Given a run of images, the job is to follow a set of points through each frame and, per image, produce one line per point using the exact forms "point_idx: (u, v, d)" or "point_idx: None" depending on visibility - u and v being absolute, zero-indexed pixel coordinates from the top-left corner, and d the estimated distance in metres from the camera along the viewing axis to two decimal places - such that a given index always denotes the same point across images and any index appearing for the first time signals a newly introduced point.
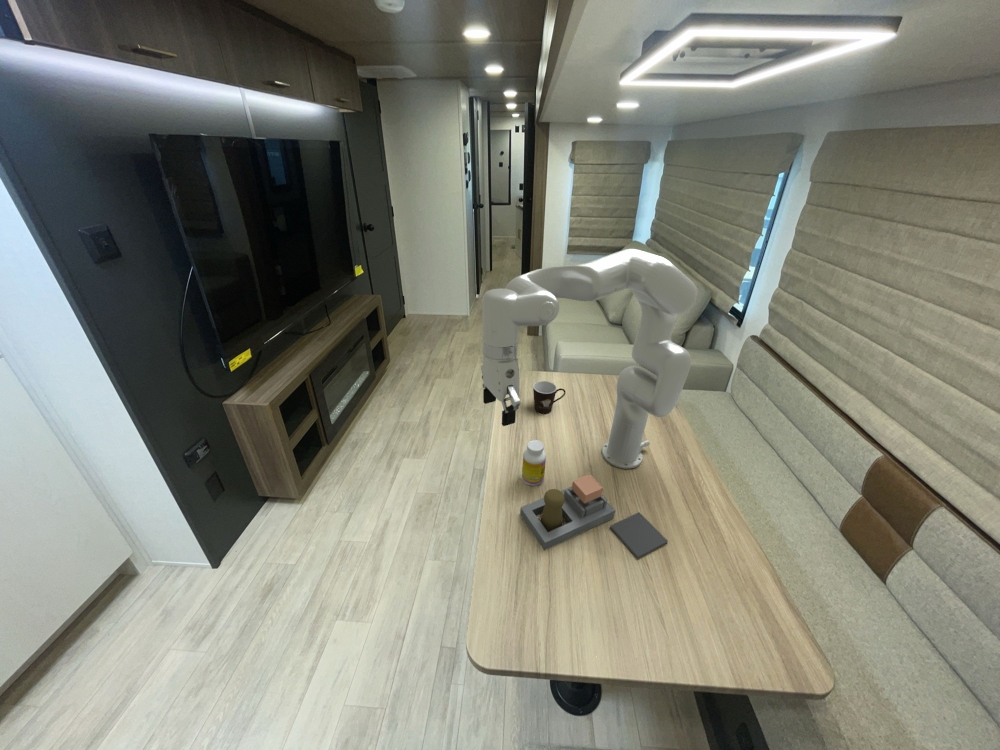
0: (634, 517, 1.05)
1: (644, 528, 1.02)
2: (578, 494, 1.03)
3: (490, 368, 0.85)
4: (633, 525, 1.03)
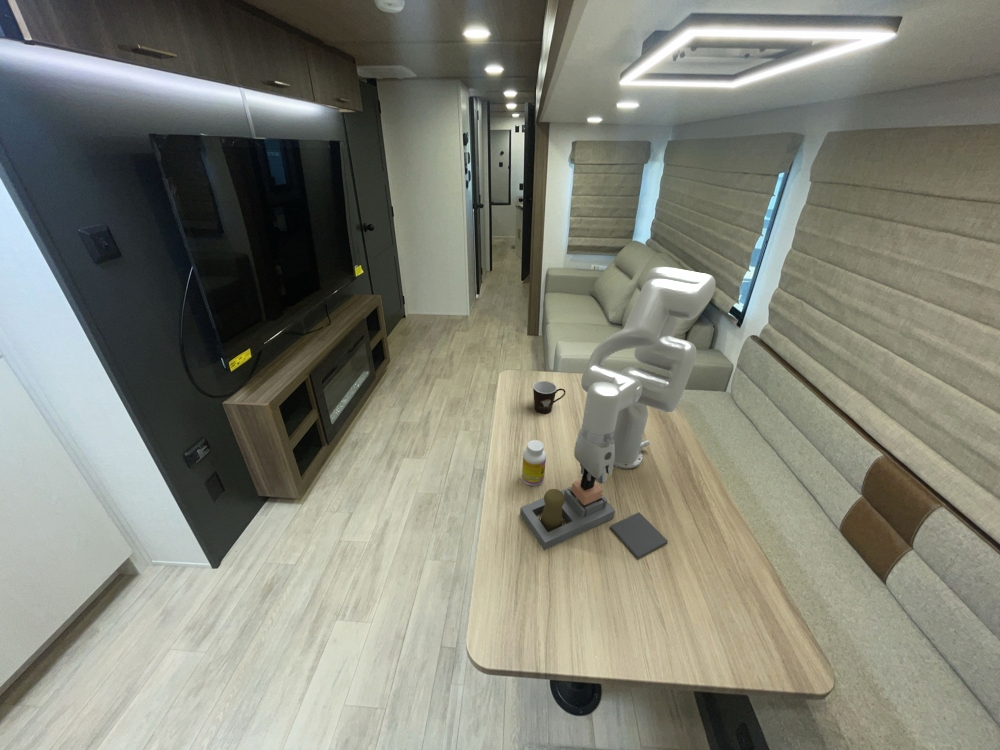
0: (634, 517, 1.05)
1: (644, 528, 1.02)
2: (578, 496, 1.03)
3: (587, 449, 0.95)
4: (633, 525, 1.03)
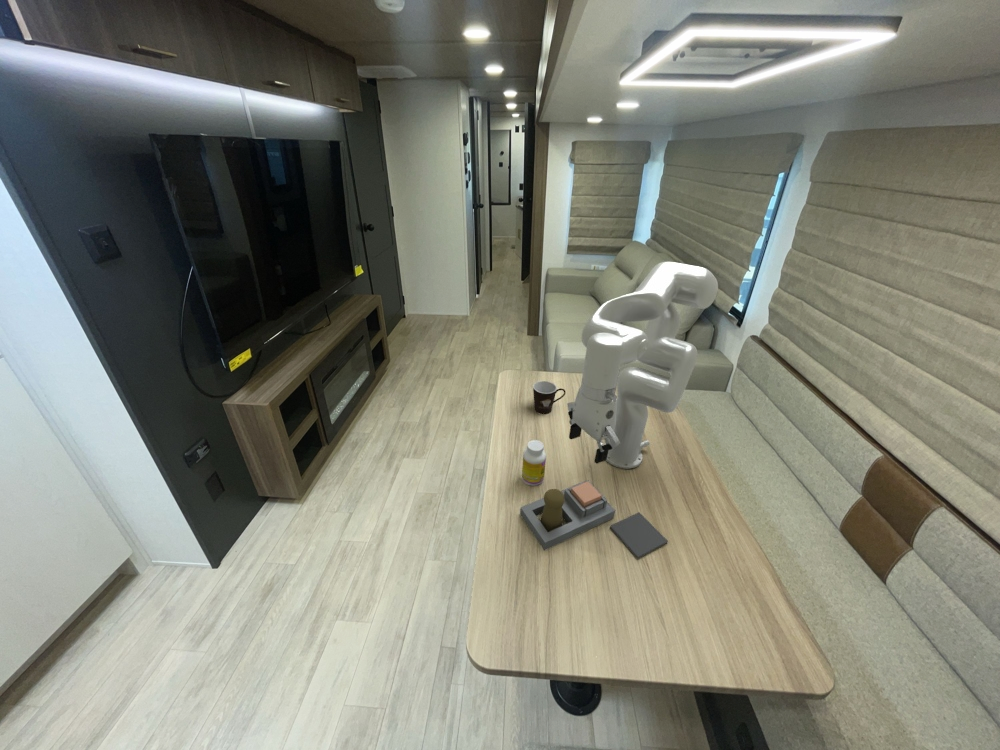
0: (634, 517, 1.05)
1: (644, 528, 1.02)
2: None
3: (587, 408, 0.87)
4: (633, 525, 1.03)
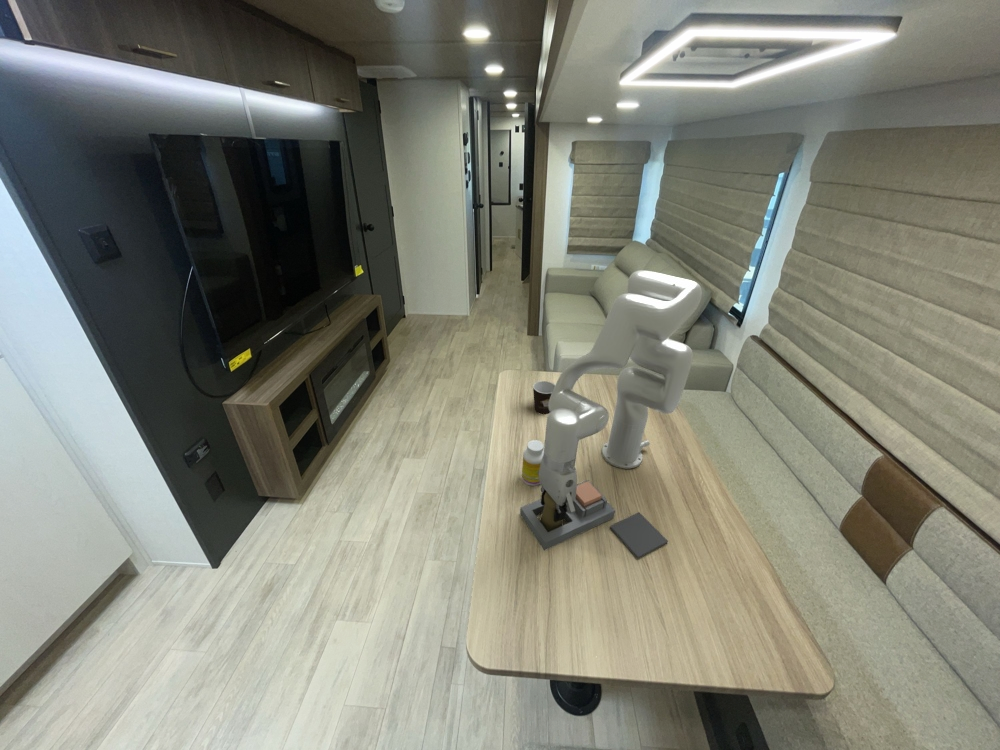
0: (634, 517, 1.05)
1: (644, 528, 1.02)
2: None
3: (550, 475, 0.93)
4: (633, 525, 1.03)
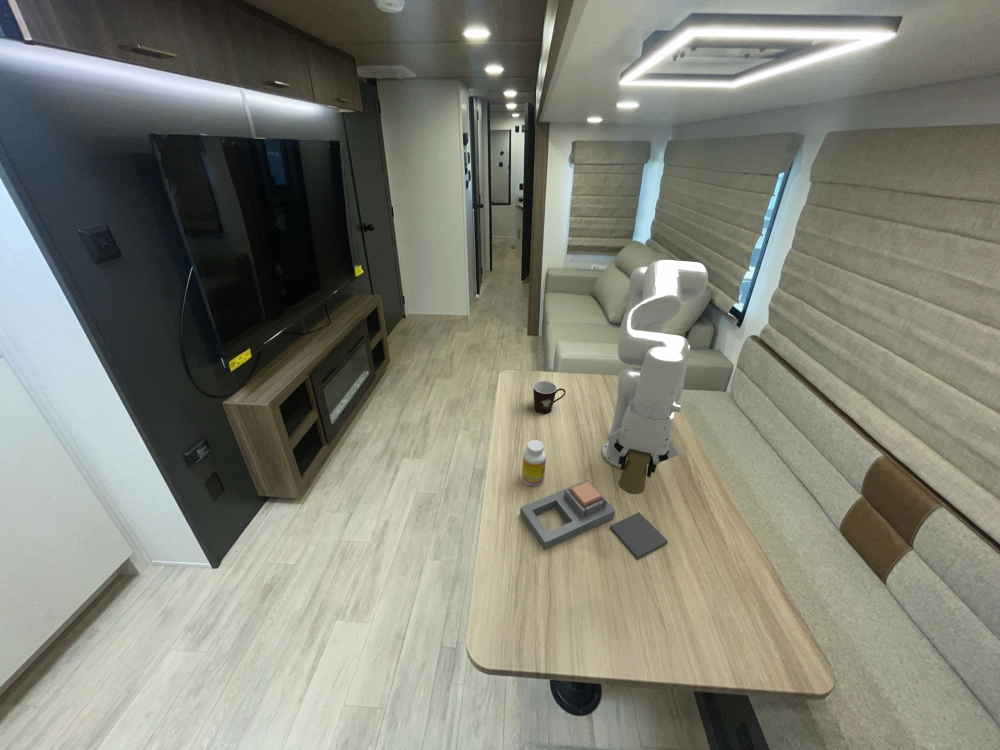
0: (634, 517, 1.05)
1: (644, 528, 1.02)
2: None
3: (650, 429, 0.81)
4: (633, 525, 1.03)
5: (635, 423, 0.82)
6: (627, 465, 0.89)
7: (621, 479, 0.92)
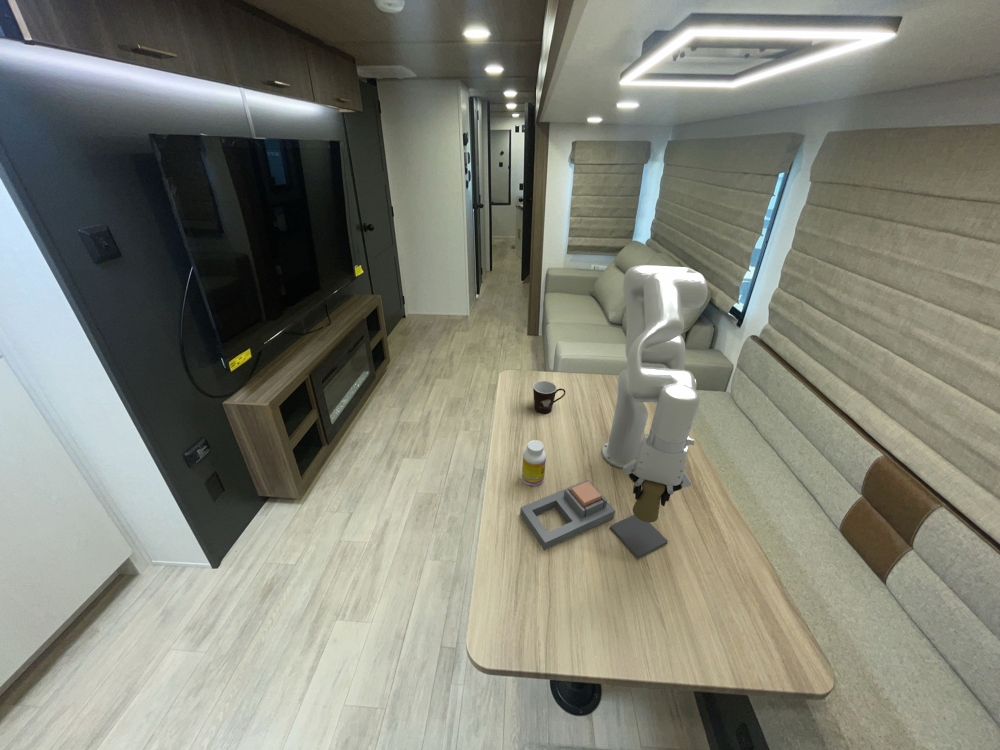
0: (634, 517, 1.05)
1: (644, 528, 1.02)
2: None
3: (665, 461, 0.85)
4: (633, 525, 1.03)
5: (651, 456, 0.85)
6: (642, 494, 0.93)
7: (636, 508, 0.95)
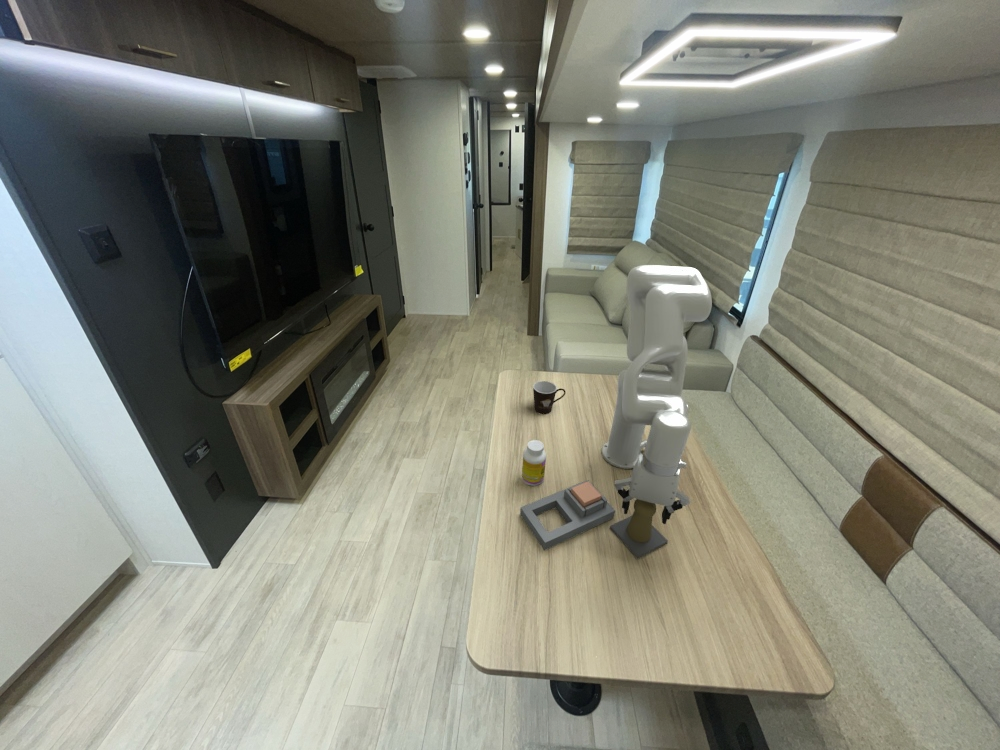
0: None
1: None
2: None
3: (658, 483, 0.88)
4: None
5: (644, 478, 0.89)
6: (634, 516, 0.97)
7: (629, 528, 0.99)
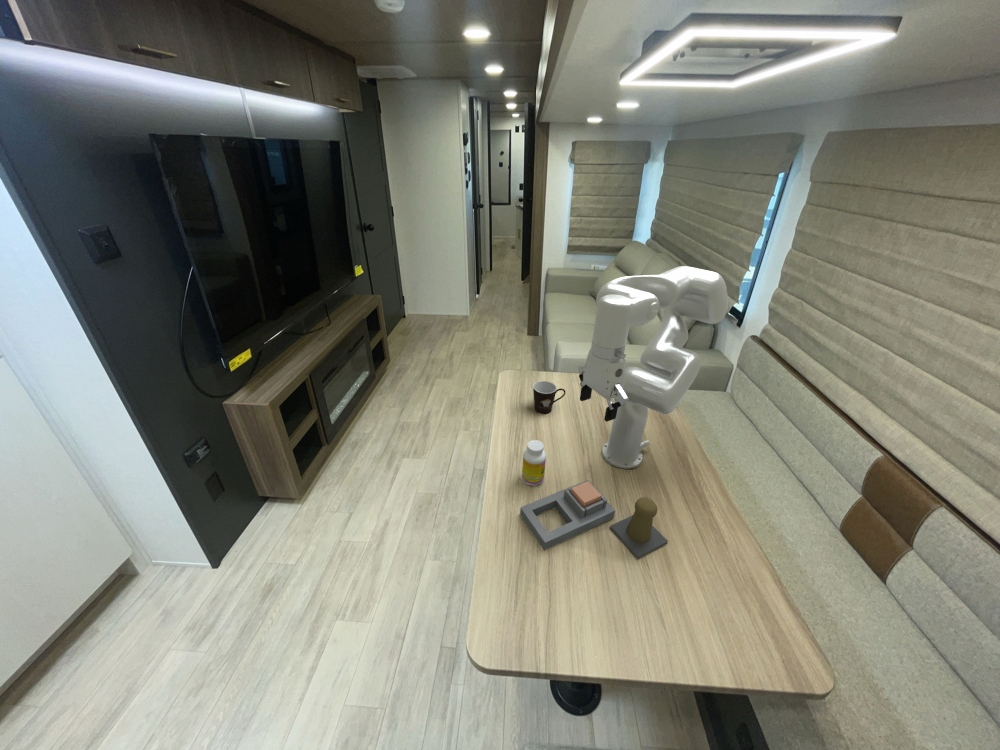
0: None
1: None
2: None
3: (597, 368, 0.92)
4: None
5: (590, 360, 0.94)
6: (635, 517, 0.97)
7: (629, 529, 0.99)
